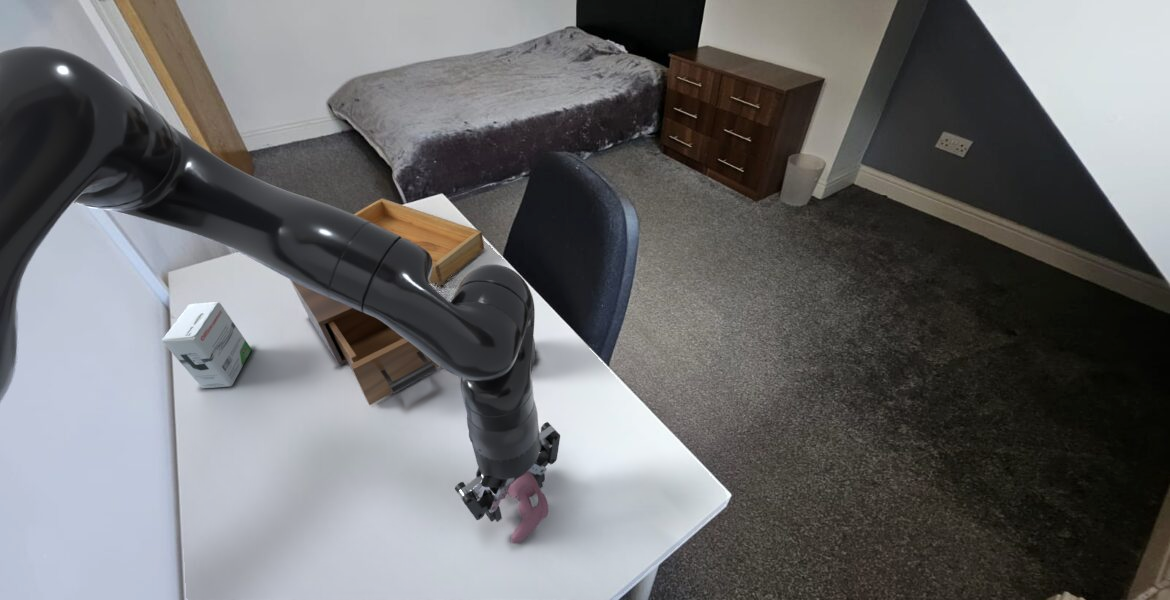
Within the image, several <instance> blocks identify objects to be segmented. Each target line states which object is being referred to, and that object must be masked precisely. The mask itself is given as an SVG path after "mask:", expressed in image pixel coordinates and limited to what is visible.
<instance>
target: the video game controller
mask: <svg viewBox="0 0 1170 600" xmlns="http://www.w3.org/2000/svg"><path fill="white" fill-rule="evenodd" d="M507 494H508V495H509V497H510V498H512V499H515V498H518V500H519V501H518V504H517V507H518V512H519V514H520V516H521V517H522V520H521V521H520V523H519V524H518V525H517V527H516V528H515V529H514V530H513V533H512V534H511V536H510V541H511V542H512V543H513V544H517V543H520V542H522V541H524V540H525V539H526V538H527V537H529V536H530V535H531V534H532V533H533V532H534V531H535V530H536V528H537V527H538V526H539V524H540V523H541V522H542V520H543V519H545V518H546V517H547V516H548V514H549V504H548V503H549V502H548V499H547V497H546V495H545V494H544V493H543V492H542V489H541V488H539V485H538V483H537V481H536V479H535V478H534V476H533V474H532V473H530V472H526V473H525V474H524V475H522V476H521V477H519V478H517V479H516V480H515V481H514V482H513V483H512V484H510V487H509V489H508V492H507Z"/></svg>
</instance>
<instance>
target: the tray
mask: <svg viewBox="0 0 1170 600" xmlns="http://www.w3.org/2000/svg"><path fill="white" fill-rule="evenodd" d="M353 214H354V215H356V216H358V217H361V218H363V219H365V220H367V221H369V222H371V223H374V224H376V225H378V226H380V227H382V228H384V229H386V230H388V231H390V232H392V233H395V234H397V235H399V236H401V237H402V238H405V239H407V240H409V241H411V242H413V243H415V244H417V245H419V246H420V247H422V248H424V249H425V250H426V251H427V252H428V253H429V254H430V255H431V257H432V262H433V267H432V273H431V277H430V280H429V282H431V283H432V284H433V283H434V284H436V285H439V286H442V285H443V284H444V283H445V282H446V281H448V280H449V279H450V278H451V277H453V276H454V275H455V274H456V273H457V272H459V271H460V270H461V269H462V268H463V267H465V266H466V265H467V264H468V263H470V262H471V261H472V260H473V259H474V258H475V257H477V256H478V255H479V254H481V252H483V251H484V250H485V244H484V237H483V232H482V231H481V230H479V229H476V228H473V227H469V226H467V225H463V224H460V223H457V222H455V221H451V220H450V219H449V220H448V219H445V218H443V217H439V216H436V215H433V214H431V213H427V212H425V211H421V210H418V209H415V208H412V207H409V206H406V205H403V204H400V203H397V202H394V201H391V200H388V199H386V198H379V199H378V200H376V201H375V202H372V203H371V204H369V205H367V206H366V207H364V208H362V209H360V210H358V211H357V212H355V213H353Z"/></svg>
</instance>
